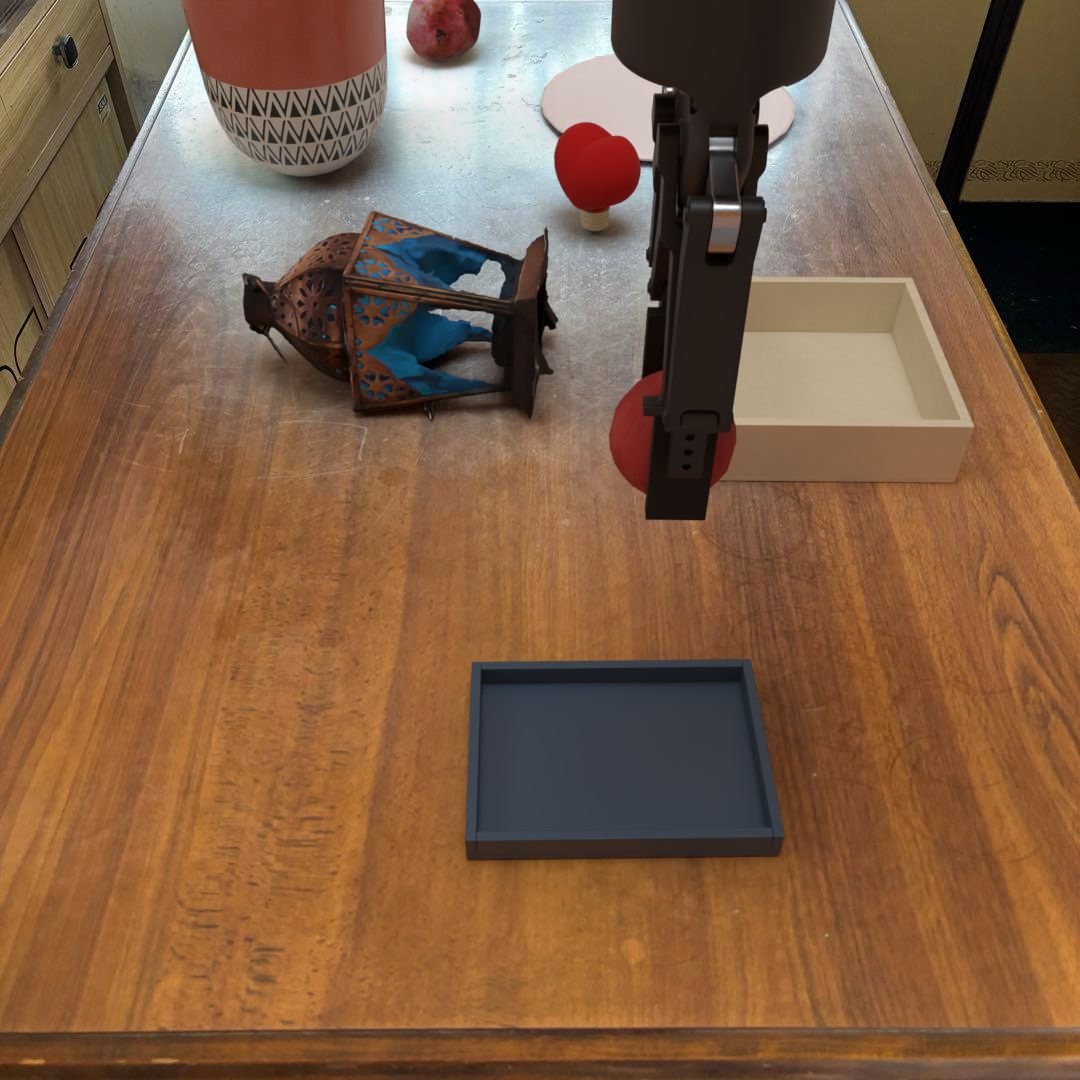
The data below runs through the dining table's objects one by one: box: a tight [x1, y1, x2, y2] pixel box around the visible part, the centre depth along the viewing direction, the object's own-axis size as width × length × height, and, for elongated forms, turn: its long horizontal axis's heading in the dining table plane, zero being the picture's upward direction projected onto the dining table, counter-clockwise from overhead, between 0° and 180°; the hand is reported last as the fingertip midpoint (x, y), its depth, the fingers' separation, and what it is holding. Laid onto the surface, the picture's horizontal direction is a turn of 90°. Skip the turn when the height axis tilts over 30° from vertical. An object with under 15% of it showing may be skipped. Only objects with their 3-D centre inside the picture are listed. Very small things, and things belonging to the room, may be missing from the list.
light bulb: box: [553, 122, 642, 234], centre depth 104 cm, size 9×7×10 cm
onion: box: [608, 370, 737, 495], centre depth 51 cm, size 6×6×8 cm
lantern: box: [241, 210, 559, 421], centre depth 87 cm, size 16×16×25 cm
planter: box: [180, 0, 388, 177], centre depth 110 cm, size 20×20×21 cm
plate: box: [539, 53, 796, 162], centre depth 127 cm, size 29×29×1 cm
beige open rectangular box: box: [718, 275, 975, 484], centre depth 87 cm, size 20×18×5 cm
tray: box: [464, 658, 786, 861], centre depth 64 cm, size 17×12×2 cm
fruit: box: [405, 0, 482, 63], centre depth 134 cm, size 9×10×10 cm
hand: (670, 466), depth 53 cm, fingers closed on onion, 6 cm apart
